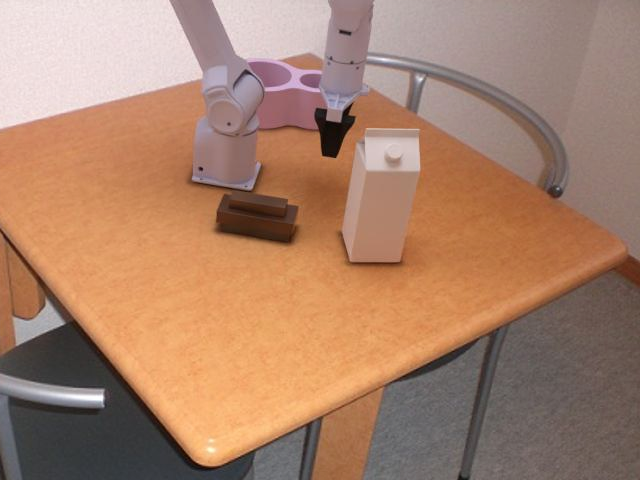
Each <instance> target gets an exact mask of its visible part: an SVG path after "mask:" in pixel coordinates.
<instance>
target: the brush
mask: <svg viewBox="0 0 640 480" xmlns="http://www.w3.org/2000/svg"><path fill="white" fill-rule="evenodd" d="M298 215H299V205H295V204H290V203H289V198H285V197H278V196H274V195H273V196H272V195H267V194H260V193H255V192H250V191H244V190H238V189H232V191H231V193H230V194H229V193H223V194H222V197H221V199H220V201H219V204H218V207H217V209H216V216H215V222H216V223H219V229H218V230H219V231H220V232H226V233H232V234H238V235H243V236H249V237H253V238H254V237H255V238H261V239H267V240H273V241H278V242H283V243H289V240H290V237H291V236H293V234H294V230H295V227H296V225H297V220H298V217H299V216H298Z"/></svg>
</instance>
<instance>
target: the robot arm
mask: <svg viewBox="0 0 640 480" xmlns="http://www.w3.org/2000/svg"><path fill="white" fill-rule="evenodd" d="M374 2H375V0H327V3H328V4H329V7H330V9H331V11H330V17H329V20H328V25H327V32H326V41H325V48H324V56H323V62H322V69H321V71H322V77H321V80H320V82H319V90H320V92H321V95H322V97H323V99H324V101H325V103H326V105H327V109H322V108H316V110H315V113H314V118H315V122H316V124H317V126H318V129H317V130H318V132H319V140H320V152H321V156H322V157H326V158H332V159H337V157H338V156H339V154H340V150H341V149H342V145H343V142H344V140H345V137H346V136H347V133H348V132H349V130H351V128H352V127H353V126H354V124H355V122H356V118H357V115H352V114H351V115H350V112H351V109H352V107H353V105H354V103H355V101H356V100H358V99H359V98H360V97H368V96H369V95H370V91H371V87H370V86H369V85H366V84H363V81H364V77H365V70H366V63H367V57H368V51H369V46H370V41H371V33H372V27H373V24H372V20H373V17H374V7H375V5H374ZM169 3H170V6H171V7H172V9H173V12H174V14H175V16H176V18H177V20H178V22H179V24H180V26H181V28H182V31H183V32H184V35H185V37H186V39H187V41H188V44H189V46H190V48H191V50H192V52H193V54H194V57H195V59H196V61H197V63H198V65H199V67H200V69H201V72H202V81H201V96H202V97H203V99H204V103H205V116H201V117H200V118H199V119H198V121H197V123H196V127H195V132H194V138H193V155H192V156H193V157H192V159H193V161H192V166H193V167H192V177H191V181H192V182H194V183H199V184H205V185H211V186H217V187H223V188H230V189H234V190H240V191H246V192H250V191H253V189H254V186H255V184H256V182H257V178H258V175H259V173H260V170H261V167H262V163H261V162H258V161H257V150H258V139H259V129H260V128H259V120H258V116H257V107H259V106H260V105H261V104H262V102H263V100H264V98H265V87H264V84H263V82H262V80H261V79H260V78H259V77H258V76H257V75H256V74H255V73H254V72H253V71H252V70H251V68H250V66H249V64H248V62H247V61H246V60H245V59H246V58H243V57H241V56H239V55H237V54H236V51H235V49H234V46H233V44H232V42H231V40H230V37H229V35H228V33H227V30H226V28H225V26H224V24H223V22H222V19H221V17H220V15H219V13H218V10H217V8H216V6H215V4H214V2H213V0H169Z"/></svg>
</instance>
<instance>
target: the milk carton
mask: <svg viewBox="0 0 640 480" xmlns="http://www.w3.org/2000/svg"><path fill="white" fill-rule="evenodd" d="M364 131H365V132H364V135H363V136H362V137H361V138H360V139H359V140H357V141H356V143H355V144H356V145H355V148H354V149H355V151H354V156H353V162H352V166H351V167H352V169H351V174H350V181H349V186H348V192H347V198H346V205H345V210H344V216H343V221H342V222H343V223H342V227H341V234H342V237H343V241H344V244H345V248H346V252H347V255H348V259H349V262H350V263H400V262H401V260H402V254H403V250H404V247H405V246H404V245H405V242H406V237H407V232H408V227H409V223H410V218H411V215H412V209H413V205H414V200H415V196H416V193H417V187H418V183H419V180H420V179H419V178H420V173H421V156H420V155H421V153H420V133H421V129H420V128H378V127H377V128H375V127H373V128H371V127H366V128H365V130H364Z"/></svg>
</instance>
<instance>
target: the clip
mask: <svg viewBox="0 0 640 480" xmlns="http://www.w3.org/2000/svg"><path fill="white" fill-rule="evenodd" d="M244 59H245V60H246V61H247V62H248V64H249V66H250V68H251V70H252V71H253V72H254V73H255V74H256V75H257V76H258V77H259V78H260V79H261V80H262V82H263V84H264V87H265V98H264V100H263V102H262V104H261V105H260V106H259V107H257V116H258V120H259V128H258V129H262V130H263V129H264V130H265V129H266V130H267V129H277V128H281V127H285V126H294V127H299V128H302V129H306V130H314V131H315V130H317V131H318V130H319V129H318V126H317V124H316V122H315V118H314V113H315V110H316V108H322V109H327V105H326V103H325V101H324V99H323V97H322V95H321V92H320V90H319V82H320V80H321V77H322V70H319V69H301V68H297V67H294V66H292V65H291V64H289V63H286V62H284V61H281V60H278V59H272V58H265V57H252V58H244Z"/></svg>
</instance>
